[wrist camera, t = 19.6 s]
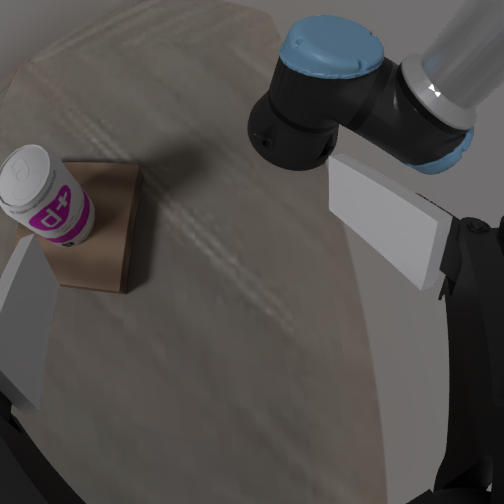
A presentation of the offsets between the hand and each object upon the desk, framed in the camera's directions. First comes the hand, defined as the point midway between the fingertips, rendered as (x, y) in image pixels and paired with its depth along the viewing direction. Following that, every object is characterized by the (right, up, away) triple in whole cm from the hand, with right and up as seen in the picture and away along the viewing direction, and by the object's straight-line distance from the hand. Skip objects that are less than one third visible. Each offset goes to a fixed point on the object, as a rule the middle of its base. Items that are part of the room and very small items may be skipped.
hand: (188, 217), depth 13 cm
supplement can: (-23, +3, +27) cm, 35 cm away
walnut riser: (-23, +2, +31) cm, 39 cm away
